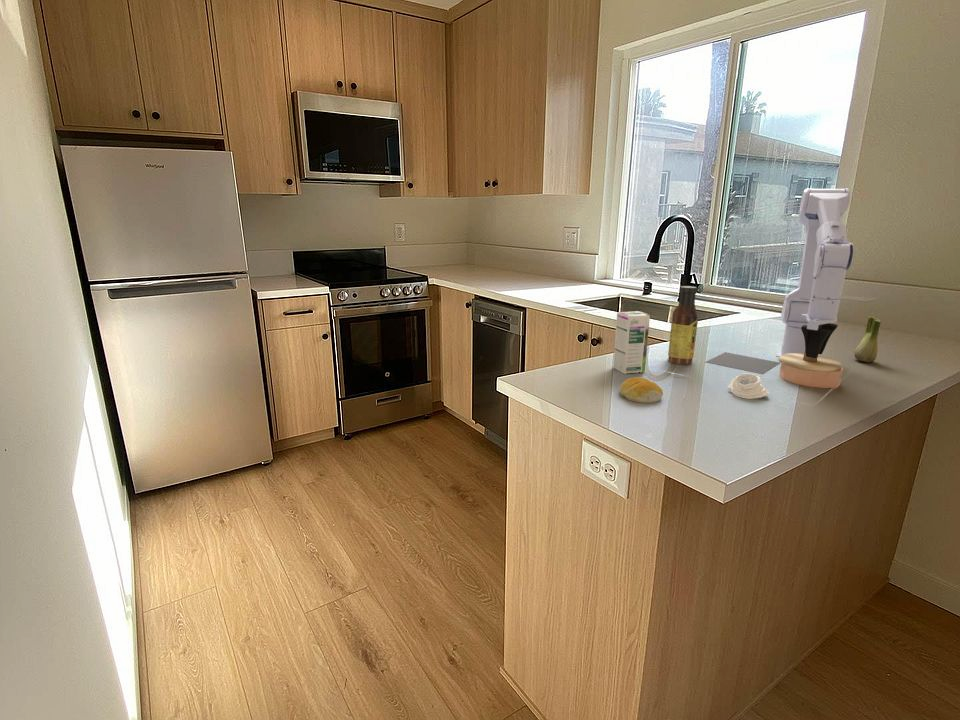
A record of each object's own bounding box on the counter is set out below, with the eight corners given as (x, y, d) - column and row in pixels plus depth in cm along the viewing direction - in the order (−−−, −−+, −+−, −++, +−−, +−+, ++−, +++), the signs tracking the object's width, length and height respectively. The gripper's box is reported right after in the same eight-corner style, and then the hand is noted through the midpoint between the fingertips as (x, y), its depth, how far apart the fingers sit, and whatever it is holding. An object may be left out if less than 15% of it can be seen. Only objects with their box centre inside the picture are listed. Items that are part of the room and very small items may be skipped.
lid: (787, 353, 132) (790, 336, 131) (846, 364, 123) (850, 346, 122) (771, 363, 123) (775, 345, 122) (834, 375, 115) (838, 356, 113)
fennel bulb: (873, 365, 137) (883, 320, 134) (850, 361, 140) (860, 317, 137) (876, 360, 141) (887, 317, 138) (855, 357, 144) (864, 314, 141)
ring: (788, 369, 132) (791, 354, 131) (844, 380, 124) (847, 364, 123) (773, 380, 124) (776, 364, 123) (832, 392, 116) (836, 375, 115)
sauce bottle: (694, 366, 134) (704, 289, 128) (668, 365, 135) (678, 288, 129) (690, 359, 140) (699, 285, 134) (665, 358, 141) (674, 284, 135)
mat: (725, 353, 146) (725, 352, 146) (780, 364, 137) (780, 362, 137) (704, 363, 137) (705, 361, 136) (762, 375, 127) (762, 373, 127)
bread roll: (645, 388, 118) (647, 371, 116) (668, 402, 109) (670, 384, 108) (611, 391, 116) (613, 373, 115) (632, 405, 107) (634, 387, 106)
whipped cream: (770, 399, 114) (777, 378, 113) (760, 404, 109) (766, 382, 108) (733, 388, 120) (739, 368, 118) (722, 392, 115) (727, 371, 114)
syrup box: (624, 374, 127) (629, 315, 123) (612, 367, 132) (617, 310, 128) (645, 372, 128) (651, 314, 124) (632, 365, 134) (637, 310, 130)
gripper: (813, 292, 126) (803, 346, 130) (796, 298, 116) (785, 357, 120) (848, 295, 121) (836, 352, 125) (833, 303, 111) (821, 364, 115)
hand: (813, 355), depth 122 cm, fingers open, 4 cm apart
